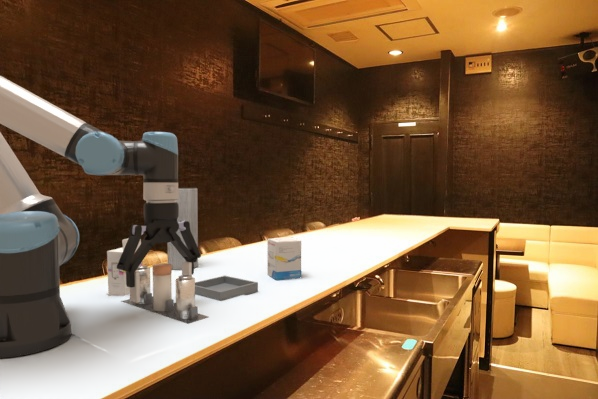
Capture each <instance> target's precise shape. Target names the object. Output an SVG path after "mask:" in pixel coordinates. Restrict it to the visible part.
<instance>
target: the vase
mask: <svg viewBox="0 0 598 399" xmlns="http://www.w3.org/2000/svg"><path fill="white" fill-rule="evenodd" d="M198 200H199V198H198V188H197V187H178V199H177V200H176V202H177V203H178V204H179V217H178V218H177V221H178V222H180V221H188V222H189V223H190V231H191V233H192V235H193V238H194V240H195V242H196V244H197V247H198V248H199V243H198V242H199V236H198V235H199V233H198V232H199V231H198V230H199V229H198V228H199V227H198V225H199V224H198V223H199V221H198V220H199V218H198V217H199V216H198V214H199V213H198V208H199V206H198V205H199V203H198ZM176 233H177V234H178V236H179V237H180V238H181V241H182V242H183V243H184V245H185V246H186V244H185V241H184V239H183V237H182V235H181V232H180V230H179V229H178V230H177V232H176ZM166 244H167V247H166V248H167V263H169V264H171V268H172V270H174V271H175V270H178V271H180V270H181V271H182V262H183V261H186V260H185V259H184V258H183V257H182V255H181V254H180V253H179V252H178V250H177V249H176V248H175V247H174V246H173V244H172V243H171V242H168V243H167V242H166ZM186 247H187V246H186ZM197 267H199V258H197V261H196V262H194V269H196V268H197Z"/></svg>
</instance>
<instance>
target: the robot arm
mask: <svg viewBox="0 0 598 399" xmlns="http://www.w3.org/2000/svg"><path fill="white" fill-rule="evenodd" d="M0 125H2V126H4V127H6V128H8V129H10V130H12V131H14V132H16V133H18V134H19V135H20V136H21V135H22V136H24V137H25V138H27V139H30V140H31V141H33V142H35V143H37V144H39V145H41V146H43V147H45V148H47V149H48V150H50V151H53V152H54V153H57V154H58V155H60V156H62V157H64V158H65V159H68V160H70V161H71V162H72V163H73V162H74V163H75V164H78V165H79V166H81V167H82V169H83V171H84V173H85V174H87V175H91V176H92V175H95V176H101V177H102V176H142V178H143V179H142V181H143V182H142V183H143V184H142V185H143V186H142V187H143V193H142V195H143V196H142V197H143V200H144V201H146V202H145V203H144V204H143V219H144V224H143V225H138V224H132V225H131V226H130V230H129V231H130V233H129V236H128V238H129V239H128V238H127V239H128V241H127V243H126V246H125V248H124V250H123V253H122V255H121V257H120V260H119V262H118V264H117V269H119V270H123V271H125V272H126V285H127V287H130V294H129V299H130V301H133V302H136V303H138V302H140V273H139V272H138V271H136V270H137V268H138V267H139V265H140V264H141V262H142V263H143V261H144V259H145V258H146V256H147V255H148V254H149V252H150V250H152V248H153V247H154V246H156V244H164V243H166V244H167V243H168V242H171V243H172V244H173V246H174V247H175V248H176V249H177V250H178V252H179V253H180V254H181V255H182V257H183V258H184V259H185V260H186V261H183V262H182V270H181V275H191V276H192V275H193V276H194V274H195V268H194V262H196V261H197V258H198V259H200V258H201V257H202V254H201V251H200V249H199V246H198V247H197V244H196V242H195V240H194V238H193V235H192V233H191V231H190V223H189V222H188V221H180V222H178V221H177V218H178V217H179V204H178V203H177V202H176V200H177V199H178V188H179V146H178V145H179V144H178V138H177V136H176V135H175V134H174V133H173V132H166V131H147V132H144V133H143V134H142V138H141V140H133V141H132V140H118V138H116V137H114V136H113V135H112V134H109V133H108V132H106V131H105V132H104V131H103V130H101V129H99V128H97V127H95V126H93V125H91V124H89V123H87V122H86V121H84V120H82V119H81V118H78V117H77V116H75V115H73V114H71V113H70V112H67V111H66V110H64V109H63V108H60V107H58V106H57V105H54V104H53V103H51V102H49V101H48V100H46V99H44V98H42V97H40V96H38V95H36V94H35V93H33V92H31V91H30V90H27V89H26V88H24V87H22V86H20V85H18V84H17V83H14V82H13V81H11V80H9V79H7V78H6V77H5V76H2V75H0ZM178 229H179V230H180V232H181V235H182V237H183V239H184V241H185V244H186V246H187V247H186V246H185V245H184V243H183V242H182V241H181V238H180V237H179V236H178V234H177V233H176V232H177V230H178ZM144 234H145V236H143V238H142V239H141V237H142V235H144ZM140 239H141V245H140V246H139V248H138V249H137V251H136V248H137V246H138V244H139V241H140ZM79 244H80V231H79V229H78V226H77V225H76V223H75V222H74V221H73V220H72V219H71V218H70V217H68V216H67V215H66V214H63V212H62V211H61V209H60V207H59V206H58V204H56V201H55V200H54V198H53V197H51V196H47V195H43V194H41V192H40V191H39V190H38V188H37V187H36V185H35V183H34V182H33V180H32V179H31V178H30V176H29V173H28V172H27V171H26V169H25V168H24V166H23V165H22V163H21V162H20V160H19V159H18V157H17V156H16V154H15V152H14V151H13V149H12V148H11V146H10V145H9V143H8V142H7V140H6V139H5V137H4V136H3V134H2V132H1V131H0V358H1V359H2V358H14V357H20V356H26V355H31V354H32V355H33V354H35V353H40V352H44V351H46V350H49V349H53V348H54V347H57V346H60V345H61V344H63V343H65V342H66V341H67V340H69V339H70V338H71V336H72V322H71V320H70V317H69V315H68V313H67V312H68V311H67V310H66V308H65V305H64V302H63V300H62V298H61V291H60V290H61V289H60V288H61V287H60V283H61V282H60V267H61V266H62V265H64V264H66V263H67V262H69V260H70V259H71V258H73V256H74V255H75V253H76V251H77V249H78V246H79ZM135 251H136V252H135ZM193 276H192V277H193Z"/></svg>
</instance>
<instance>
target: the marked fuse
mask: <svg viewBox="0 0 598 399" xmlns="http://www.w3.org/2000/svg"><path fill="white" fill-rule="evenodd" d="M172 270H173V269H172V268H171V264H169V263H168V262H167V263H164V262H163V263H162V262H160V263H155V264H152V296H153V310H154V311H166V301H167V300H171V299H173V298H172Z"/></svg>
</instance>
